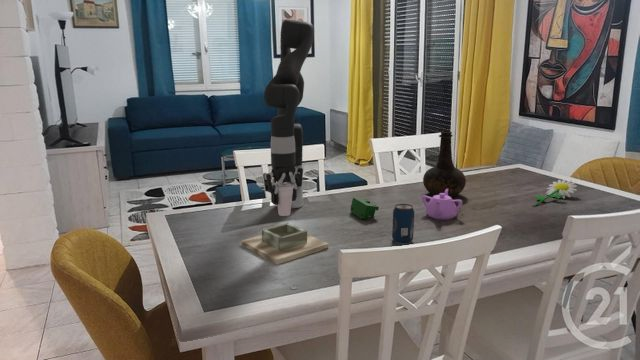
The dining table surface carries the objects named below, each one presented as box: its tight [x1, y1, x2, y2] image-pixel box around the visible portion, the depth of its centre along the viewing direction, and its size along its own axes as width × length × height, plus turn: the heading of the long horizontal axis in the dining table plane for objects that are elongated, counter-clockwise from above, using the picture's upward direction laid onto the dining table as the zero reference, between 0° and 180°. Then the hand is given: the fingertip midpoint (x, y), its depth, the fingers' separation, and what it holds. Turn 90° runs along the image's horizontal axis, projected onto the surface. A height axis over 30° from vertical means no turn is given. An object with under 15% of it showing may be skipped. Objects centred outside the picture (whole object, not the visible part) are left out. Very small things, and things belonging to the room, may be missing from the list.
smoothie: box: [274, 182, 294, 217], centre depth 159 cm, size 6×6×14 cm
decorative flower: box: [532, 179, 578, 207], centre depth 213 cm, size 13×5×30 cm
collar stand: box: [240, 222, 329, 265], centre depth 163 cm, size 20×20×6 cm
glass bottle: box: [422, 130, 467, 198], centre depth 217 cm, size 18×18×28 cm
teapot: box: [421, 189, 463, 221], centre depth 192 cm, size 12×14×9 cm
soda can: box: [391, 203, 415, 245], centre depth 167 cm, size 7×7×12 cm
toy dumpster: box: [350, 197, 380, 220], centre depth 194 cm, size 12×6×9 cm, turn 17°
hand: (284, 202), depth 160 cm, fingers closed on smoothie, 6 cm apart
